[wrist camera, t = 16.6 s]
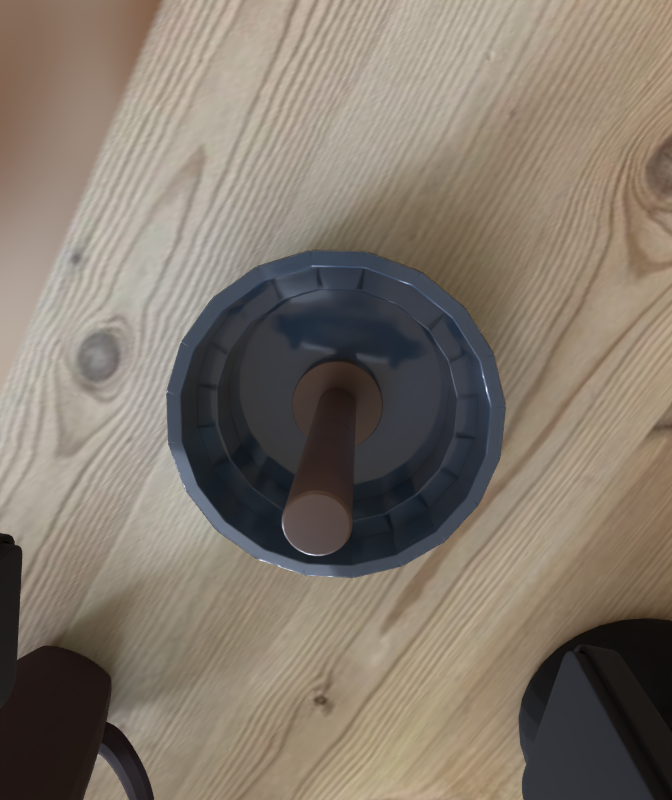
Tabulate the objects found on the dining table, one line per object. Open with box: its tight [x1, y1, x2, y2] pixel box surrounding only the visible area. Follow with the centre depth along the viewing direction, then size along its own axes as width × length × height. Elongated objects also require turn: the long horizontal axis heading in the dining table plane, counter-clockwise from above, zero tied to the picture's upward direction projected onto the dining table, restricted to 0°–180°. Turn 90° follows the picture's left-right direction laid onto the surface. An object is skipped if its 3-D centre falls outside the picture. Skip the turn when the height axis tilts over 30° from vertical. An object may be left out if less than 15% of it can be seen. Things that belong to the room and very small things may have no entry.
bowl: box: [166, 250, 506, 578], centre depth 28 cm, size 15×15×6 cm
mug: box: [0, 646, 154, 800], centre depth 31 cm, size 10×14×12 cm
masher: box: [282, 358, 383, 556], centre depth 23 cm, size 5×5×15 cm
